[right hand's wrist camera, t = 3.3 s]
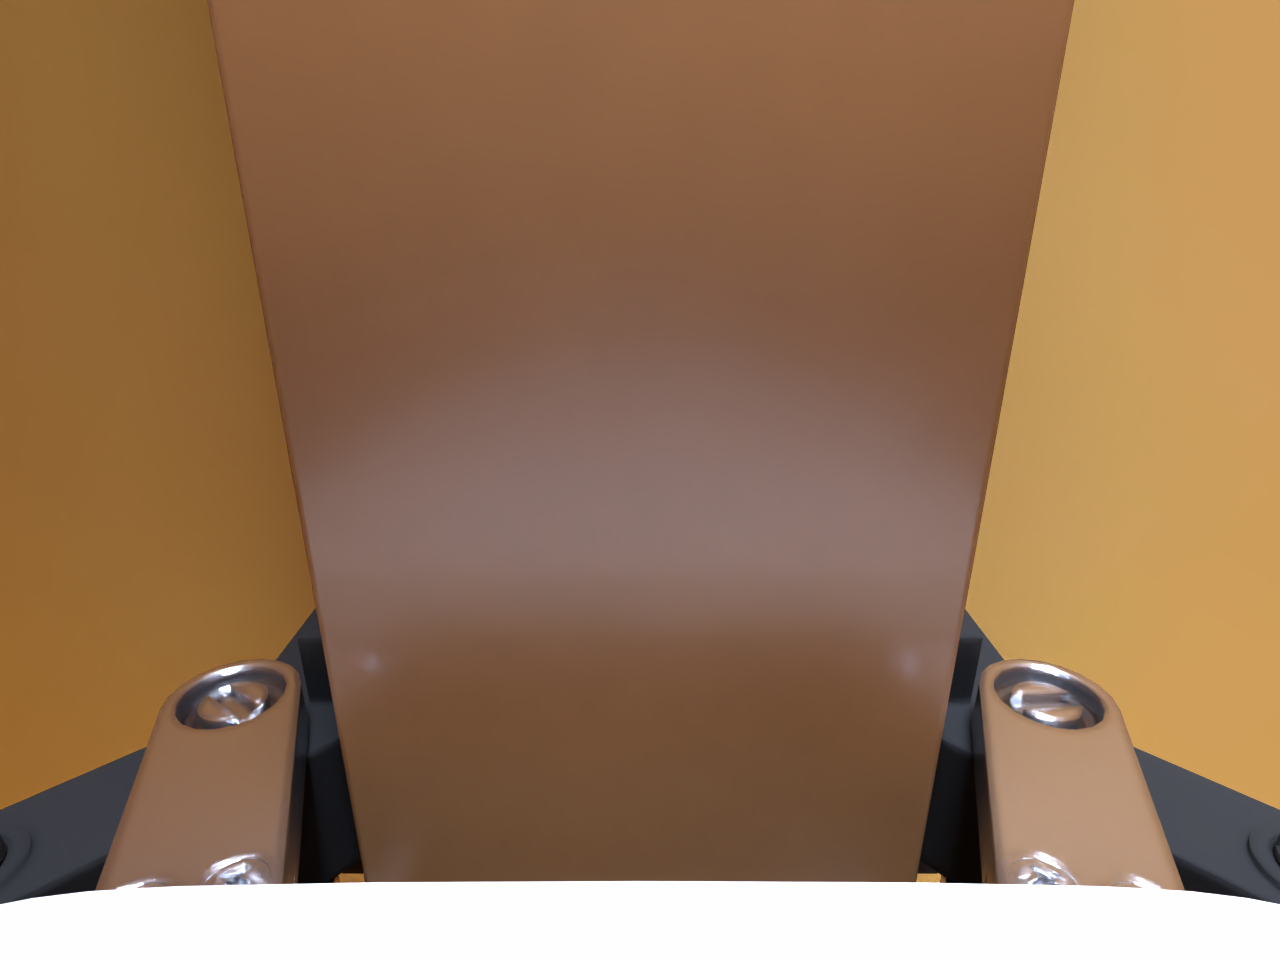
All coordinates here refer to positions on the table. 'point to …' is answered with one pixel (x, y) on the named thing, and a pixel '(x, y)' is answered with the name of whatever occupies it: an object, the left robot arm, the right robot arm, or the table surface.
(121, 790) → the right robot arm
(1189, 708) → the table surface
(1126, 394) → the table surface
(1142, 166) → the table surface
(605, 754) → the post
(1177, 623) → the table surface
